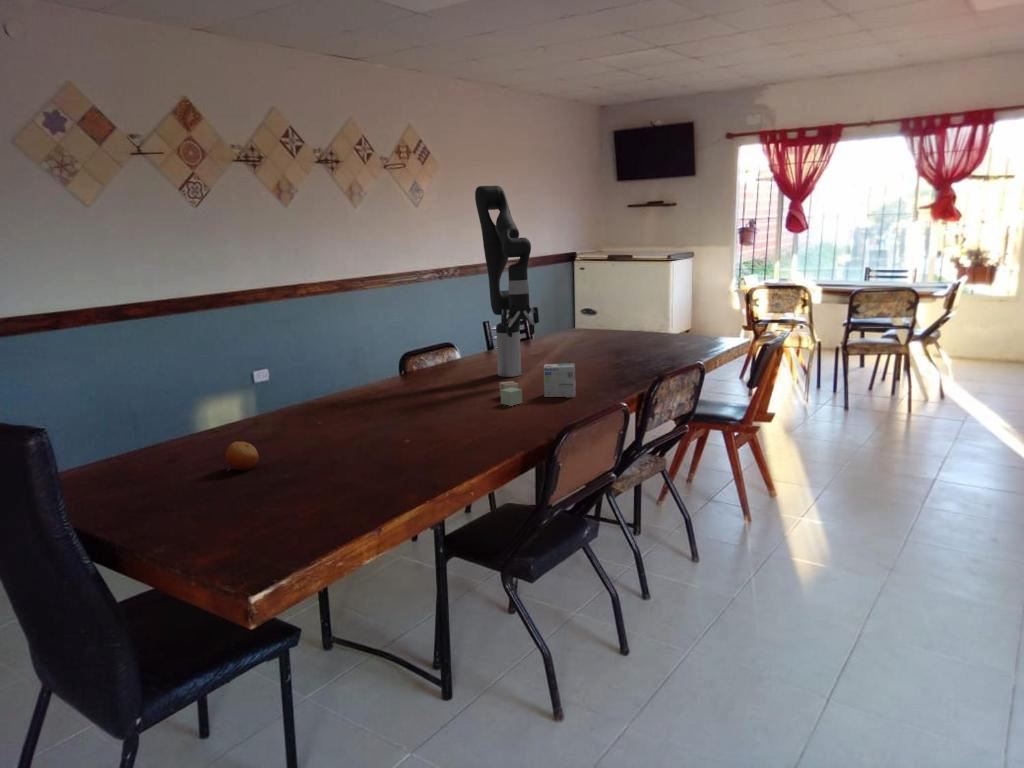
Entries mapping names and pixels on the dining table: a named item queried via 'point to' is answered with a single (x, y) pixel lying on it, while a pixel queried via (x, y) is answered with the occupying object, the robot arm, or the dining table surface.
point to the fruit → (241, 456)
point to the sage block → (511, 396)
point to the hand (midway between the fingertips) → (520, 336)
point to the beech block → (508, 385)
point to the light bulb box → (559, 380)
